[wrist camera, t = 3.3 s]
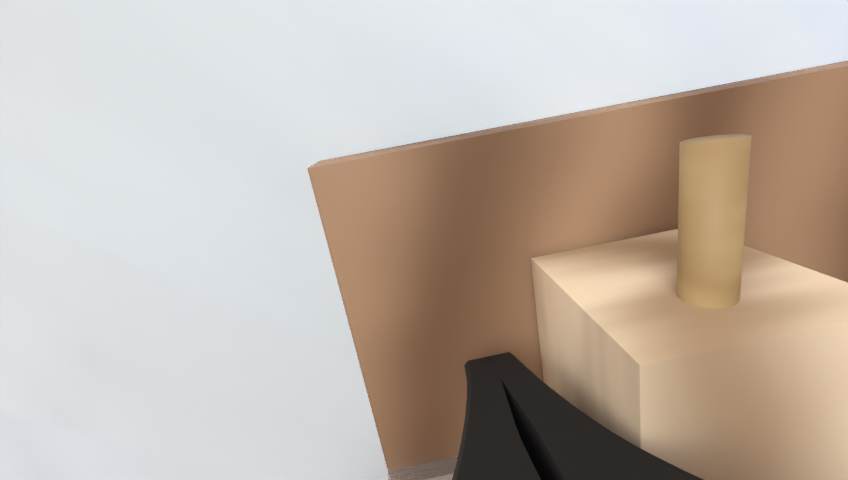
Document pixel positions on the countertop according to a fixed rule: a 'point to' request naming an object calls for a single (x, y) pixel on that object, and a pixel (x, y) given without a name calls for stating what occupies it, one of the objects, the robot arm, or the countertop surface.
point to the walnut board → (552, 227)
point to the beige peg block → (702, 337)
